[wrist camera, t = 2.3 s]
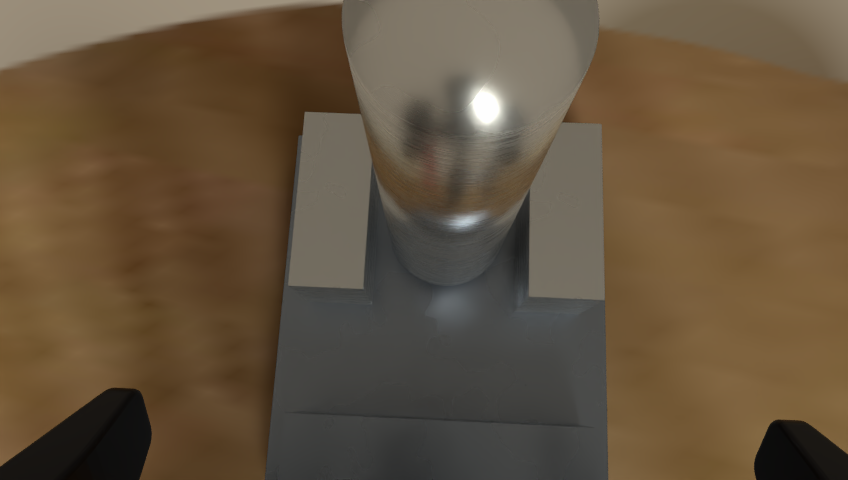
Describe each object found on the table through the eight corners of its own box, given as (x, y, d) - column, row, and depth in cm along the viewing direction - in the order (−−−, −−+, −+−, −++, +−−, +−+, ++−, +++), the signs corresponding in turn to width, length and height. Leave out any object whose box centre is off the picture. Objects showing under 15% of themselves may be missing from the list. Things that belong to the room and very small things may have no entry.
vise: (592, 529, 21) (643, 569, 16) (275, 513, 21) (229, 548, 16) (587, 168, 23) (629, 108, 18) (309, 157, 24) (278, 94, 19)
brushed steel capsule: (501, 288, 20) (601, 141, 9) (386, 282, 20) (331, 130, 9) (505, 113, 22) (595, -218, 10) (397, 108, 22) (362, -226, 10)
